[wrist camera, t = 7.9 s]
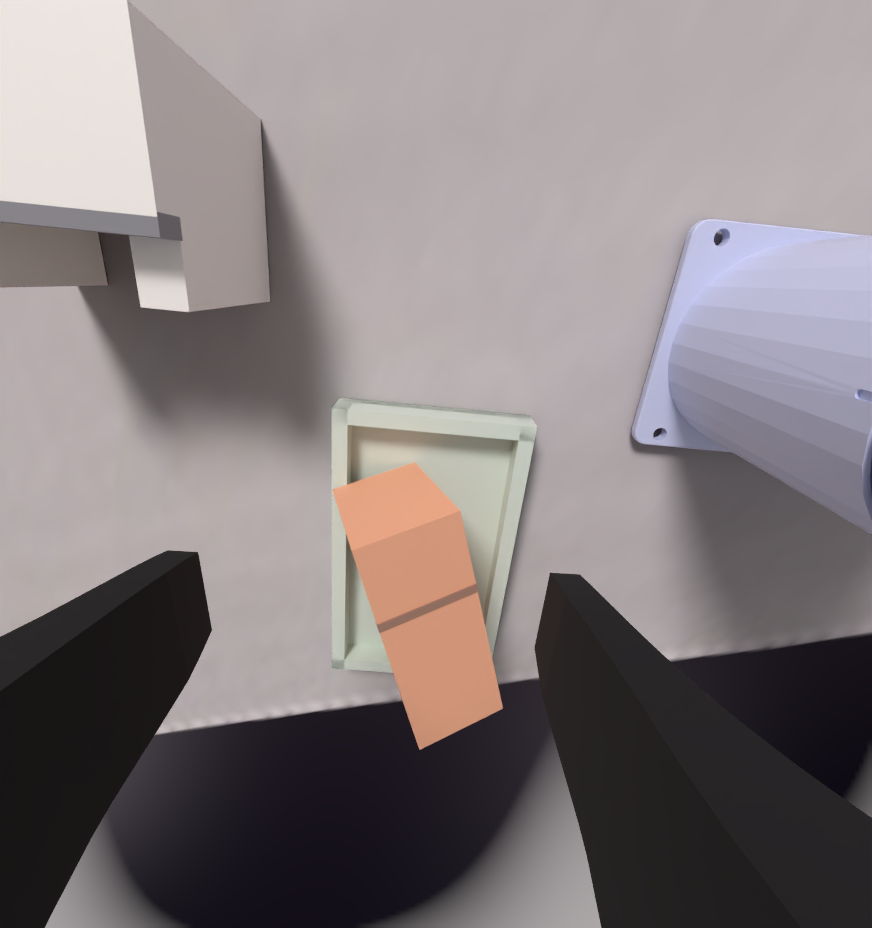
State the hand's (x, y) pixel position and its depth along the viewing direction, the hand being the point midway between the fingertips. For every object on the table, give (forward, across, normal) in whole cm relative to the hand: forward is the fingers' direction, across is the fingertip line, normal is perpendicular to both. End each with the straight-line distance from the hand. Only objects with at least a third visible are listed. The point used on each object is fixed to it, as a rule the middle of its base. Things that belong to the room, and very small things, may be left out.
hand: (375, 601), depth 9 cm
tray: (+10, -1, +5) cm, 11 cm away
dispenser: (+10, +9, -8) cm, 15 cm away
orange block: (+9, 0, +6) cm, 10 cm away
